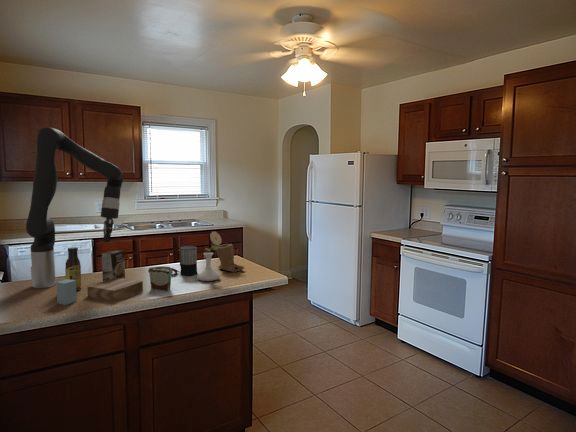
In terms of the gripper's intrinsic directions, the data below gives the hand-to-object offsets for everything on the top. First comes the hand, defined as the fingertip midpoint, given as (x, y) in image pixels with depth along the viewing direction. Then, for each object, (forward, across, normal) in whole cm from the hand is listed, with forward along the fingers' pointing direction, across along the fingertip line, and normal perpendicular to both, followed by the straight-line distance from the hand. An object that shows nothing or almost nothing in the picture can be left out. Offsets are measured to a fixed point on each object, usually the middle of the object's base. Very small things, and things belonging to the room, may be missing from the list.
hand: (106, 242), depth 177 cm
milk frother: (+15, -11, +39) cm, 43 cm away
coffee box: (+20, -8, +6) cm, 23 cm away
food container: (+20, +11, +26) cm, 35 cm away
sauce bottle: (+23, -7, -11) cm, 26 cm away
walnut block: (+23, +8, +6) cm, 25 cm away
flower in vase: (+16, +6, +50) cm, 53 cm away
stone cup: (+11, -7, +65) cm, 66 cm away
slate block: (+26, +11, -13) cm, 31 cm away
